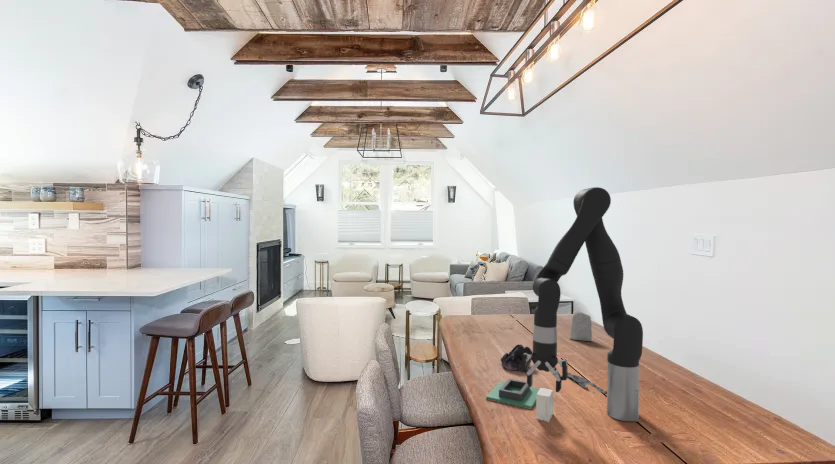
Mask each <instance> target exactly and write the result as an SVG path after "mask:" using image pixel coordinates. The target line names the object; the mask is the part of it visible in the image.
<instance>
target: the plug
mask: <svg viewBox="0 0 835 464" xmlns="http://www.w3.org/2000/svg"><path fill="white" fill-rule="evenodd" d="M538 389H539V391H538V393H537V394H536V403H535V406H536V411H535V412H536V413H535V414H536V416H535V417H536V420H539V419H540V421H543V420H544V421H543V422H548V423H550V421H551V419H552V417H553V415H554V389H549V388H545V387H540V388H538Z"/></svg>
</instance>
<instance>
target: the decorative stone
mask: <svg viewBox="0 0 835 464" xmlns="http://www.w3.org/2000/svg"><path fill="white" fill-rule="evenodd" d="M571 316H572V317H571V323H570V331H569V339H570V340H573V341H575V340H576V341H584V342H585V341H586V342H591V341H592V339H593V333H592V331H593V330H592V326H593V325H592V320H591V319H592V318H591V316H590V315H589V314H586V313H584V312H582V311H579V310H575V311H573V313H572V315H571Z"/></svg>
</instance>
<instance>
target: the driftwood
mask: <svg viewBox="0 0 835 464" xmlns="http://www.w3.org/2000/svg"><path fill="white" fill-rule="evenodd" d="M567 378H571V379H572V381H573V382H577V383H578V384H579V386H581V388H584V389H585V390H586V392H591V390H590V389H589V387H588V386H587V385H590V386H592V387H594V388H595V390H597V391H598V393H602V394H606V393H607V390H606V391H605V390H604V389H602V388H600V387H599V386H597V385H596V384H595V383H594V382H591V381H590V380H588V379H586V378H585V377H582V376H579V375H576V374H572V373H571V372H568V377H567ZM592 393H593V394H595V395H596V392H594V391H593V392H592Z"/></svg>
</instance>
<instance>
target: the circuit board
mask: <svg viewBox="0 0 835 464" xmlns="http://www.w3.org/2000/svg"><path fill="white" fill-rule="evenodd" d="M539 389H540V388H538V387H533V386H531V387H529V385H528V384H527V381H523V380H518V379H512V378H507V380H506V381H499V382H498V383H497V384H496V385H495V386H494V388H492V389H491V391H490V392H489V393H488V394H486V396H485V397H486V398H485V400H487V399H489V400H488V401H491V400H495V401H494V402H496V401H499V402H498V403H500V402H504V403H503V404H505V403H509V404H508V405H510V404H513V405H512V406H514V405H517V406H516V407H519V406H521V407H520V408H523V407H525V409H528V408H530V409H529V410H532V409H533V408H534V406H535V405H536V394H537V393H538V391H539ZM532 407H533V408H532Z"/></svg>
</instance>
